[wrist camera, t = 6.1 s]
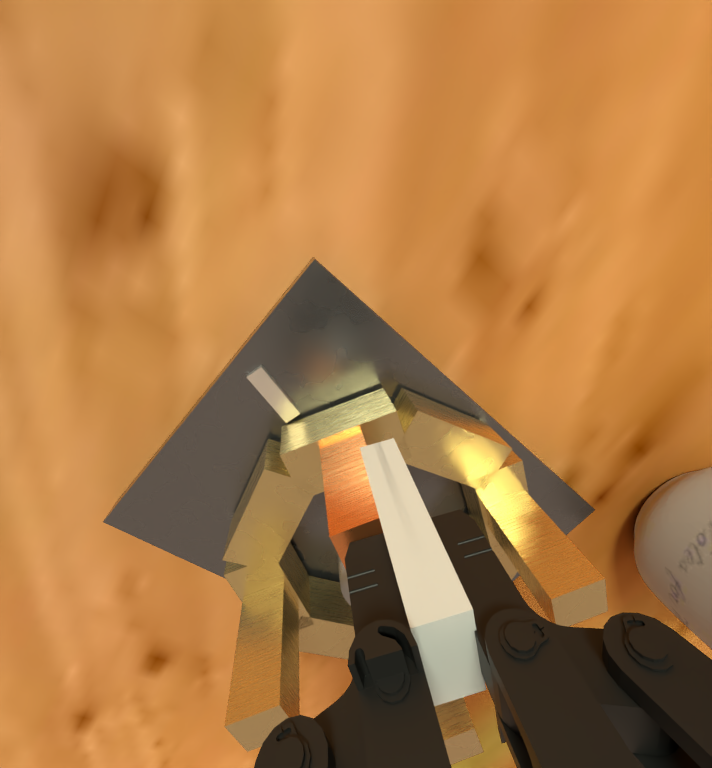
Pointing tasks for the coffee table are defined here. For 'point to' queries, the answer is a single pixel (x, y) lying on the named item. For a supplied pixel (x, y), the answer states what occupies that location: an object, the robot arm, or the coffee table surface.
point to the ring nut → (361, 520)
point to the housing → (288, 404)
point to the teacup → (679, 548)
